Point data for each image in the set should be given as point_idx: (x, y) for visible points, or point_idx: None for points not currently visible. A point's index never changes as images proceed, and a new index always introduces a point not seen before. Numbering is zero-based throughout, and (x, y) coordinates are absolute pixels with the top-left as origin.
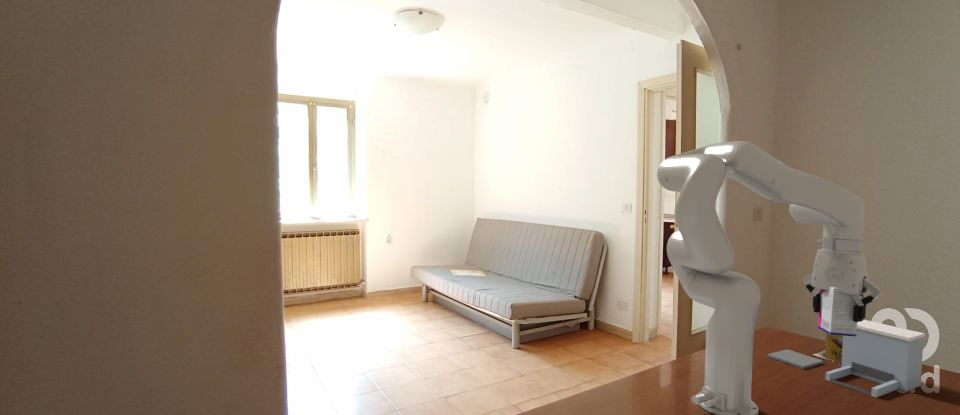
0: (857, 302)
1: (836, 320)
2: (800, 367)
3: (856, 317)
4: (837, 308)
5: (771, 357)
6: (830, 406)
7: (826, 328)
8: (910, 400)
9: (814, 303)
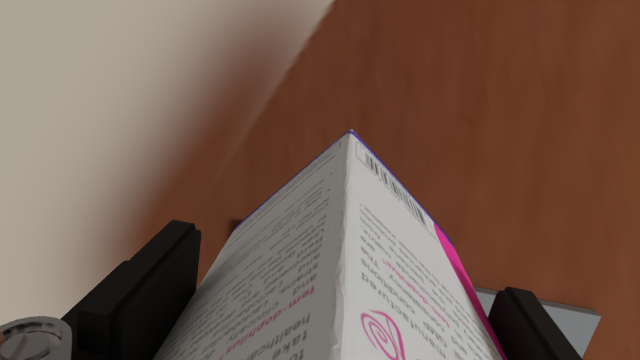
0: (47, 351)
1: (313, 181)
2: (480, 288)
3: (157, 237)
4: (298, 235)
5: (581, 308)
6: (321, 18)
7: (385, 171)
8: (197, 274)
9: (569, 348)
